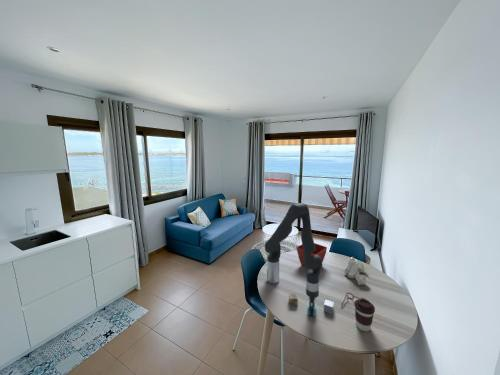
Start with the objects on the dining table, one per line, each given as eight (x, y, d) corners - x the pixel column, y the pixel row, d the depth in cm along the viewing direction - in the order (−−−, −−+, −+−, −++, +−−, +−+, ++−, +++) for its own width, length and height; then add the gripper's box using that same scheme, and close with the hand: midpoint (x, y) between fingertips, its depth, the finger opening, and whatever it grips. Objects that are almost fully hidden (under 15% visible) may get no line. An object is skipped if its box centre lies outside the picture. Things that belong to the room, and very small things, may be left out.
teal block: (307, 314, 125) (307, 307, 124) (307, 308, 130) (308, 301, 129) (315, 316, 123) (316, 309, 123) (316, 310, 128) (316, 303, 127)
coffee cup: (364, 336, 109) (366, 311, 107) (349, 323, 118) (350, 299, 116) (377, 329, 113) (379, 305, 110) (361, 317, 122) (362, 294, 119)
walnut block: (289, 305, 133) (290, 298, 132) (289, 300, 138) (289, 293, 137) (297, 305, 133) (297, 298, 132) (296, 300, 137) (296, 293, 137)
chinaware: (370, 291, 146) (374, 270, 143) (345, 284, 152) (348, 264, 149) (363, 270, 172) (367, 252, 169) (342, 265, 178) (345, 247, 174)
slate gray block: (323, 311, 127) (324, 304, 126) (325, 306, 131) (325, 299, 130) (332, 314, 125) (332, 307, 124) (333, 309, 129) (333, 302, 128)
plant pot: (307, 257, 193) (308, 240, 190) (326, 265, 179) (327, 247, 176) (295, 265, 180) (296, 247, 177) (315, 274, 166) (316, 254, 164)
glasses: (368, 306, 131) (368, 299, 130) (363, 319, 121) (364, 311, 120) (346, 297, 139) (346, 290, 138) (340, 308, 129) (340, 301, 129)
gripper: (306, 279, 132) (306, 301, 134) (305, 293, 118) (304, 318, 121) (319, 281, 129) (318, 304, 132) (318, 296, 116) (317, 321, 119)
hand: (311, 310), depth 126 cm, fingers open, 8 cm apart
